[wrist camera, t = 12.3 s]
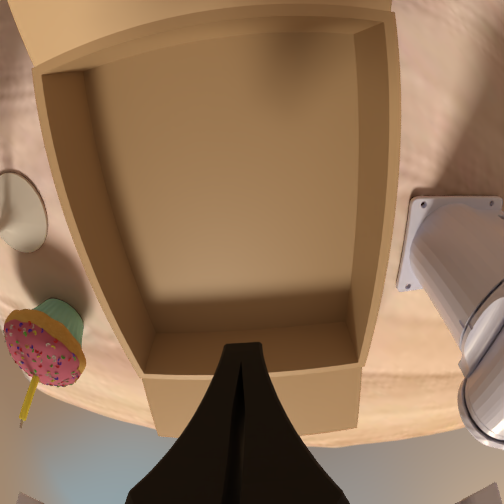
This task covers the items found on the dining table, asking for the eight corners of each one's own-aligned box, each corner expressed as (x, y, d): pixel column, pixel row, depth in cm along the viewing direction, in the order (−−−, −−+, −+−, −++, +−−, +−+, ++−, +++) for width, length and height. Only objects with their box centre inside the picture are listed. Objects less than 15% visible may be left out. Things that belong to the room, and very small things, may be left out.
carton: (358, 27, 13) (394, 12, 9) (349, 320, 24) (364, 366, 20) (79, 66, 14) (31, 68, 10) (153, 333, 25) (139, 378, 21)
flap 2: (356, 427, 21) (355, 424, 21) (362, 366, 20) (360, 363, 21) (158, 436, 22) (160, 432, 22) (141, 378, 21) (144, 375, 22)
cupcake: (107, 353, 27) (71, 455, 17) (42, 336, 27) (-2, 422, 16) (90, 288, 23) (27, 406, 13) (18, 273, 22) (-49, 365, 12)
